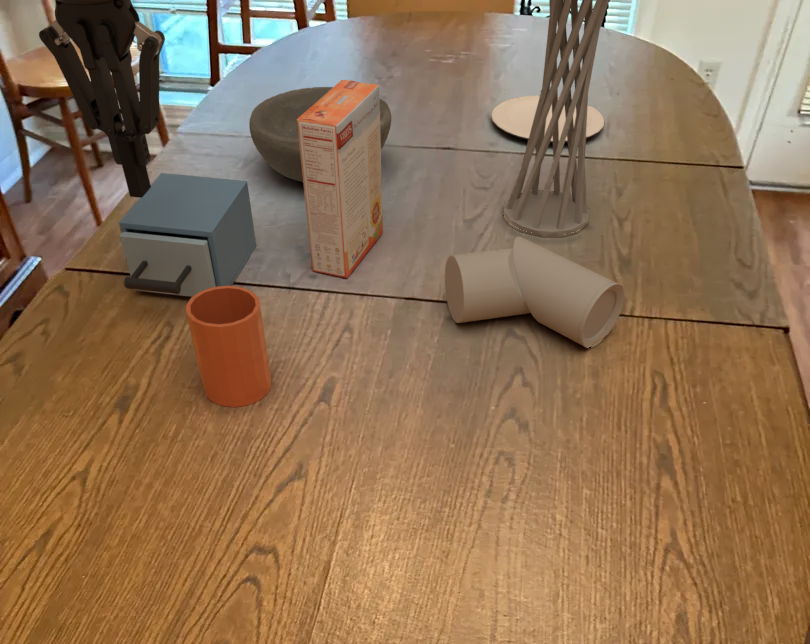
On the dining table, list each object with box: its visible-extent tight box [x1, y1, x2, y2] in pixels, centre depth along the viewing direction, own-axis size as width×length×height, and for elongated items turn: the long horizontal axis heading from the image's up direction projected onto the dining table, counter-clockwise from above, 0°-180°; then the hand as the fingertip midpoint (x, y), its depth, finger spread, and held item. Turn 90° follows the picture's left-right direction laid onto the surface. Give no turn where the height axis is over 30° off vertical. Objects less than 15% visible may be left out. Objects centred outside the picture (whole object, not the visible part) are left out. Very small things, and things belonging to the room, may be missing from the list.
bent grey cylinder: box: [444, 235, 625, 349], centre depth 101 cm, size 18×10×20 cm
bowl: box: [248, 86, 392, 183], centre depth 129 cm, size 23×22×10 cm
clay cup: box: [185, 285, 272, 408], centre depth 90 cm, size 8×8×11 cm
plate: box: [490, 95, 605, 144], centre depth 145 cm, size 21×21×2 cm
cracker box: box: [297, 79, 384, 279], centre depth 107 cm, size 14×6×21 cm, turn 159°
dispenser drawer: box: [119, 229, 216, 297], centre depth 105 cm, size 19×11×8 cm, turn 170°
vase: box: [502, 0, 610, 239], centre depth 110 cm, size 14×13×35 cm
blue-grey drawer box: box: [118, 172, 257, 287], centre depth 109 cm, size 15×13×10 cm
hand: (140, 191), depth 93 cm, fingers closed
